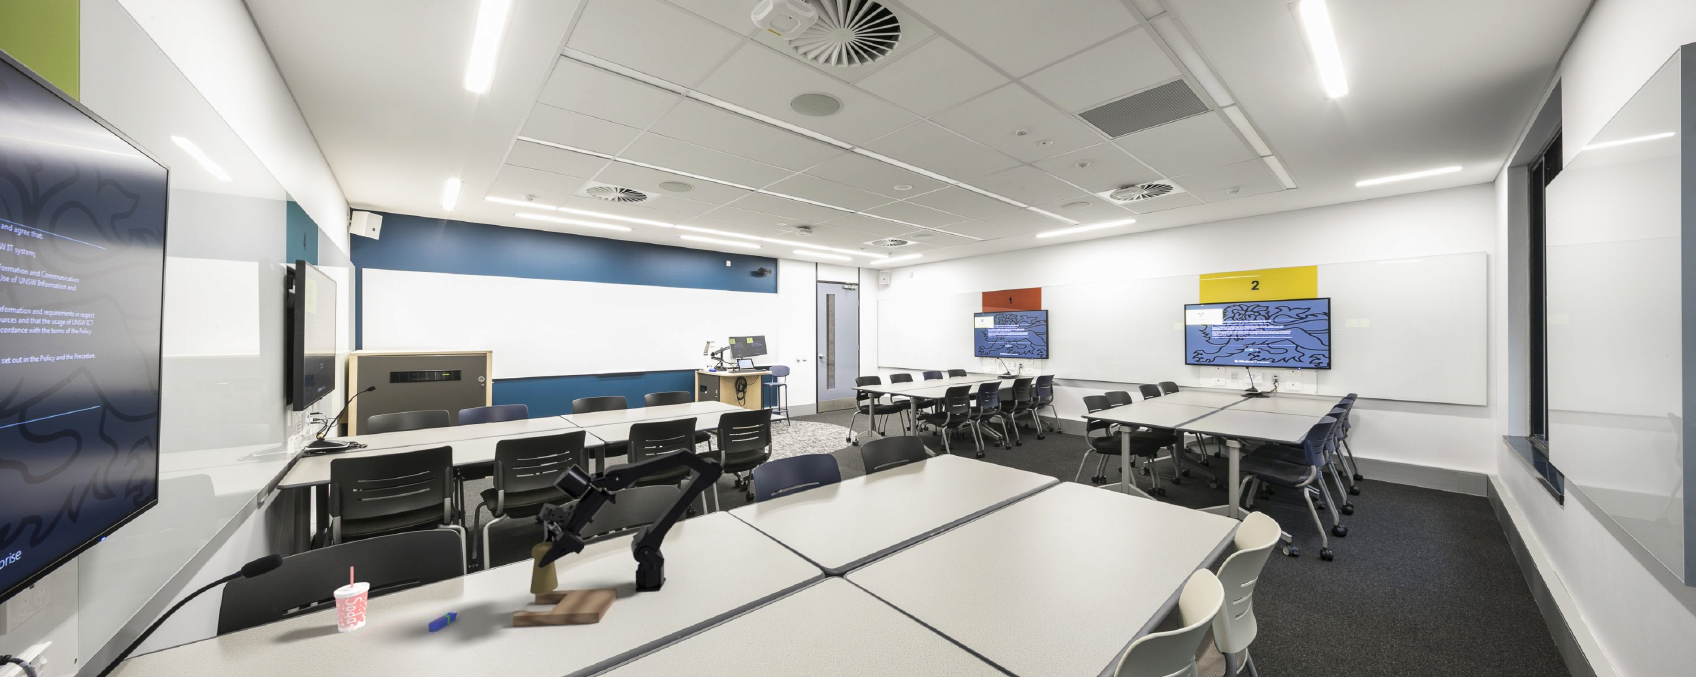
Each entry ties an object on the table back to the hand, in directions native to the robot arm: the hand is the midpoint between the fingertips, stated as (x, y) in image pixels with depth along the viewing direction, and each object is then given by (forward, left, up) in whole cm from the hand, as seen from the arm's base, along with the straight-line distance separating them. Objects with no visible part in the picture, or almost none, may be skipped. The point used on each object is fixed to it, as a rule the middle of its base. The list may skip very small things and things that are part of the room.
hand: (537, 563), depth 129 cm
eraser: (+20, +3, -13) cm, 24 cm away
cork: (-1, -1, -7) cm, 7 cm away
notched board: (-7, -1, -12) cm, 14 cm away
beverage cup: (+41, +2, -13) cm, 43 cm away
